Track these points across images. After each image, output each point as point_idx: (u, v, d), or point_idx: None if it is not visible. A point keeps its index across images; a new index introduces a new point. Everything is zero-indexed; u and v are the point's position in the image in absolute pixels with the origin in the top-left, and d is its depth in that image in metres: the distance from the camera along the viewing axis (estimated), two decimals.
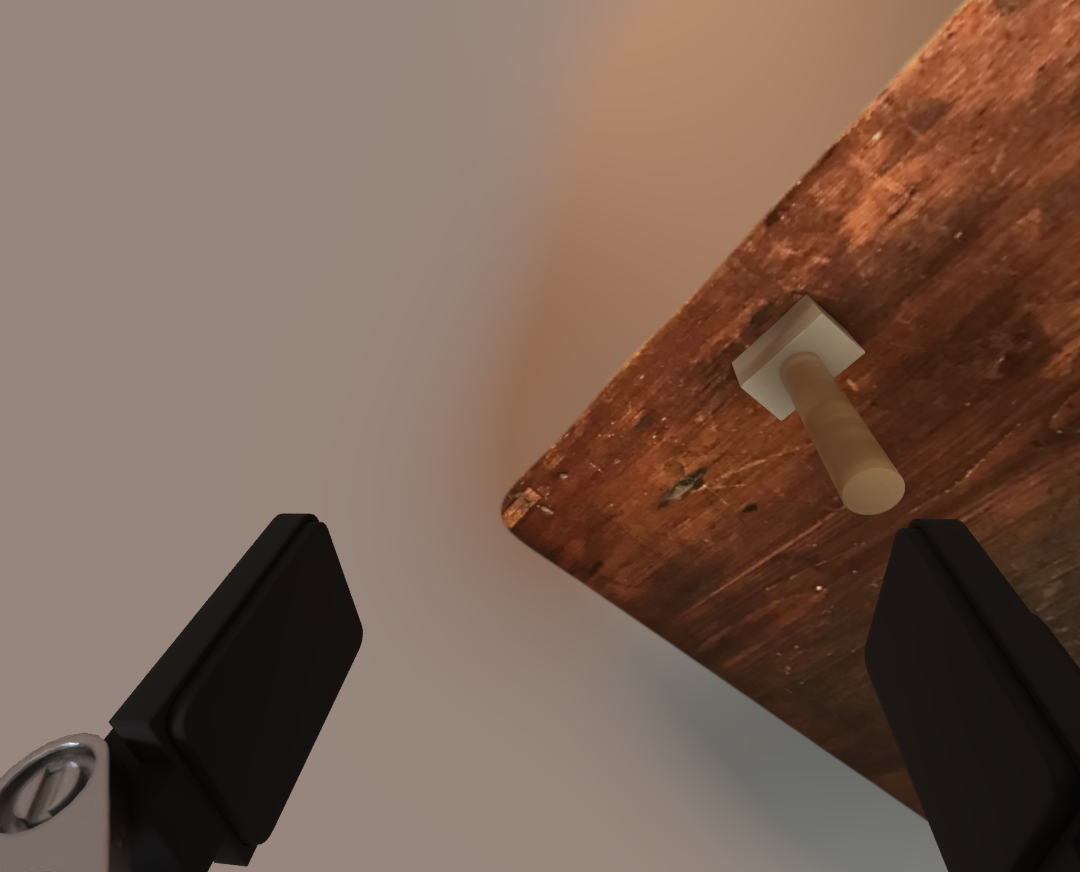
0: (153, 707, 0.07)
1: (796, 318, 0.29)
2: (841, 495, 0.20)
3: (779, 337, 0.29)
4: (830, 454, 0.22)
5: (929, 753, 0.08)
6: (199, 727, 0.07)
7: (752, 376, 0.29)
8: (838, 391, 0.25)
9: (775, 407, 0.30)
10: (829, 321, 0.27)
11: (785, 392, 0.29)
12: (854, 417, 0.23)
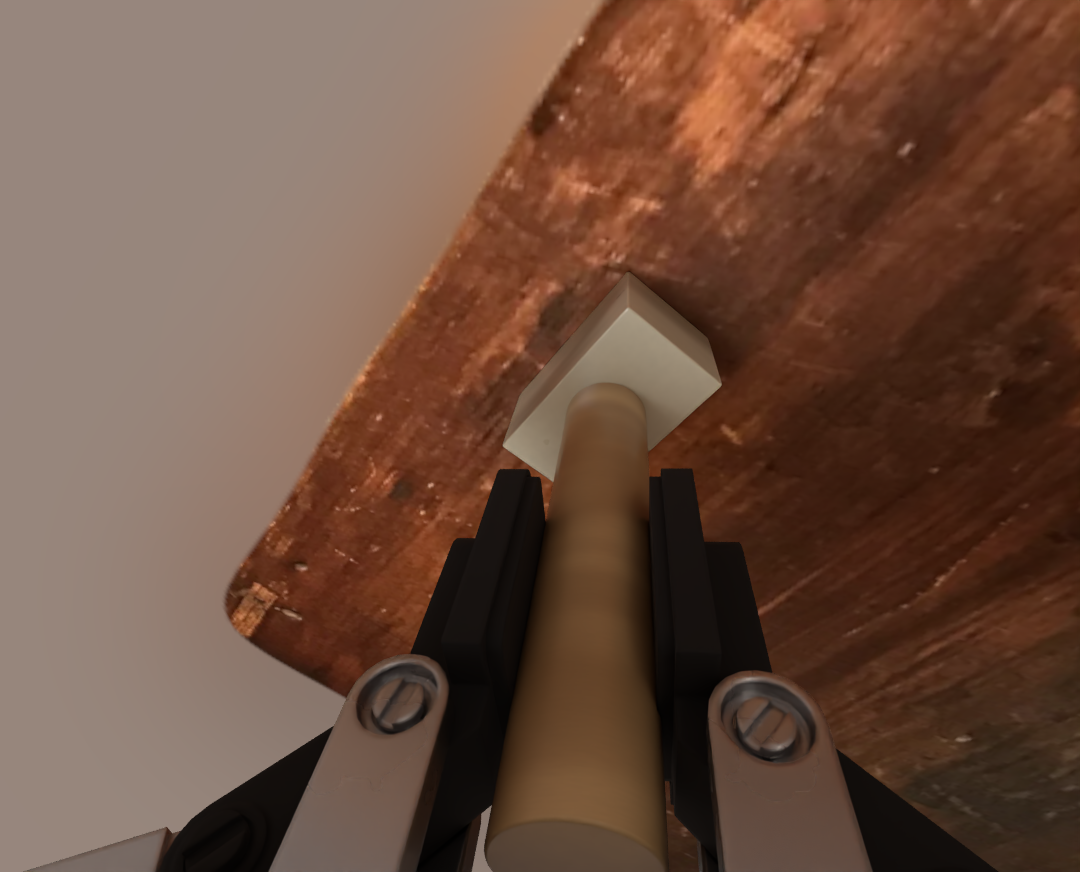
0: (477, 629, 0.07)
1: (600, 317, 0.15)
2: (489, 862, 0.07)
3: (571, 353, 0.15)
4: (514, 691, 0.08)
5: None
6: (506, 651, 0.08)
7: (519, 427, 0.15)
8: (618, 483, 0.11)
9: None
10: (643, 323, 0.13)
11: None
12: (611, 570, 0.09)
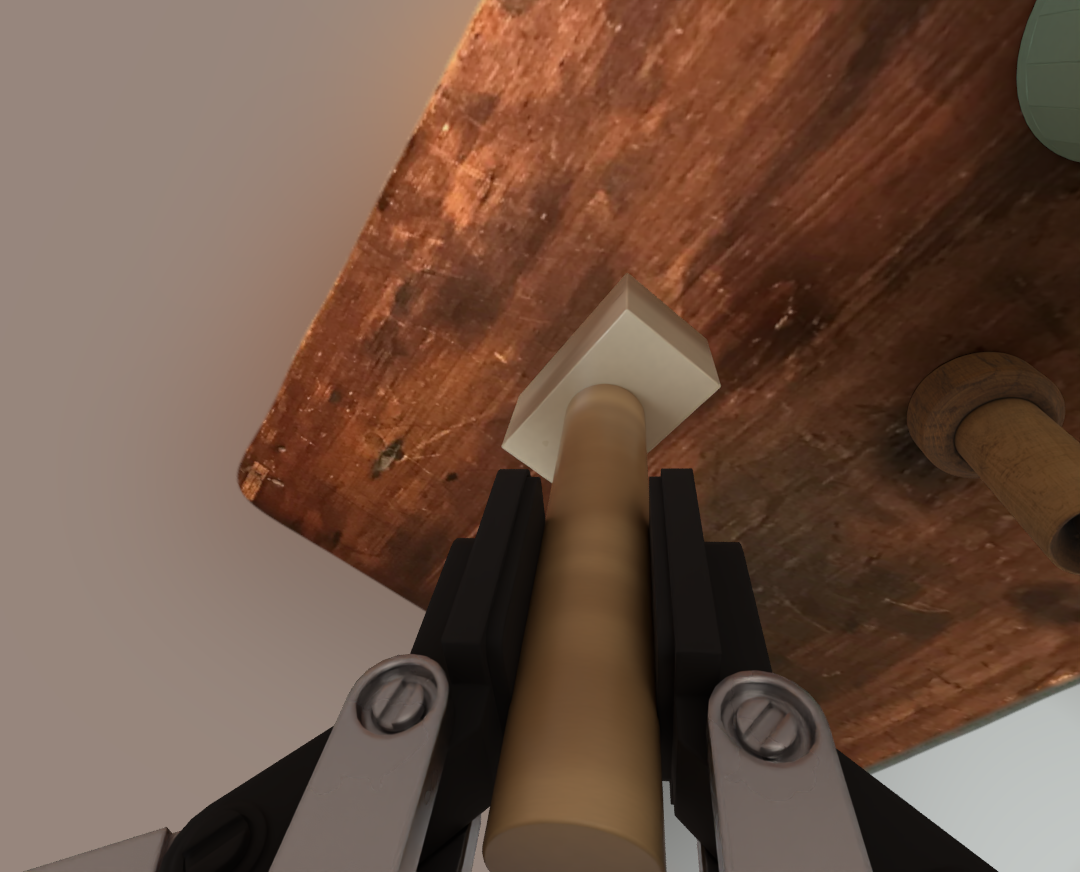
0: (476, 629, 0.07)
1: (599, 318, 0.15)
2: None
3: (570, 355, 0.15)
4: (513, 693, 0.08)
5: None
6: (506, 651, 0.08)
7: (518, 429, 0.15)
8: (616, 485, 0.11)
9: None
10: (642, 324, 0.13)
11: None
12: (609, 571, 0.09)
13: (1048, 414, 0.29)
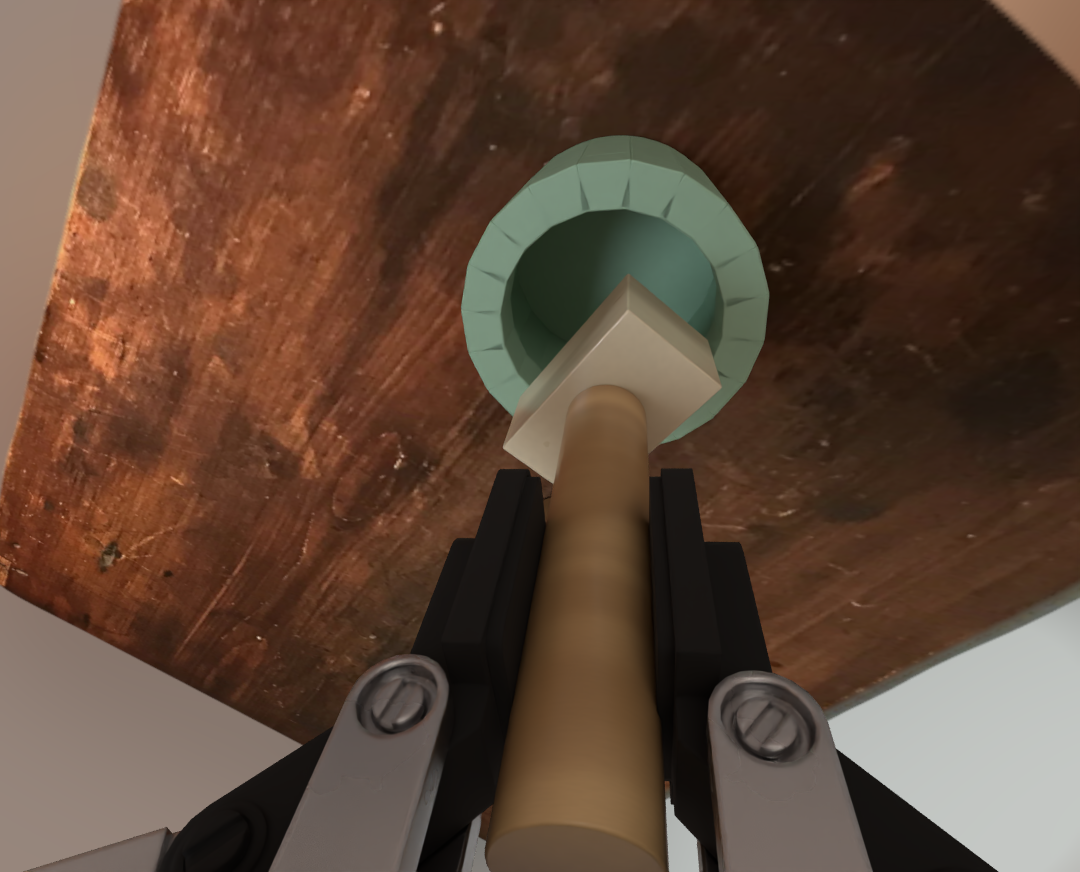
0: (476, 629, 0.07)
1: (600, 319, 0.15)
2: (490, 865, 0.07)
3: (571, 356, 0.15)
4: (515, 694, 0.08)
5: None
6: (506, 651, 0.08)
7: (519, 429, 0.15)
8: (618, 486, 0.11)
9: None
10: (643, 325, 0.13)
11: None
12: (611, 573, 0.09)
13: None
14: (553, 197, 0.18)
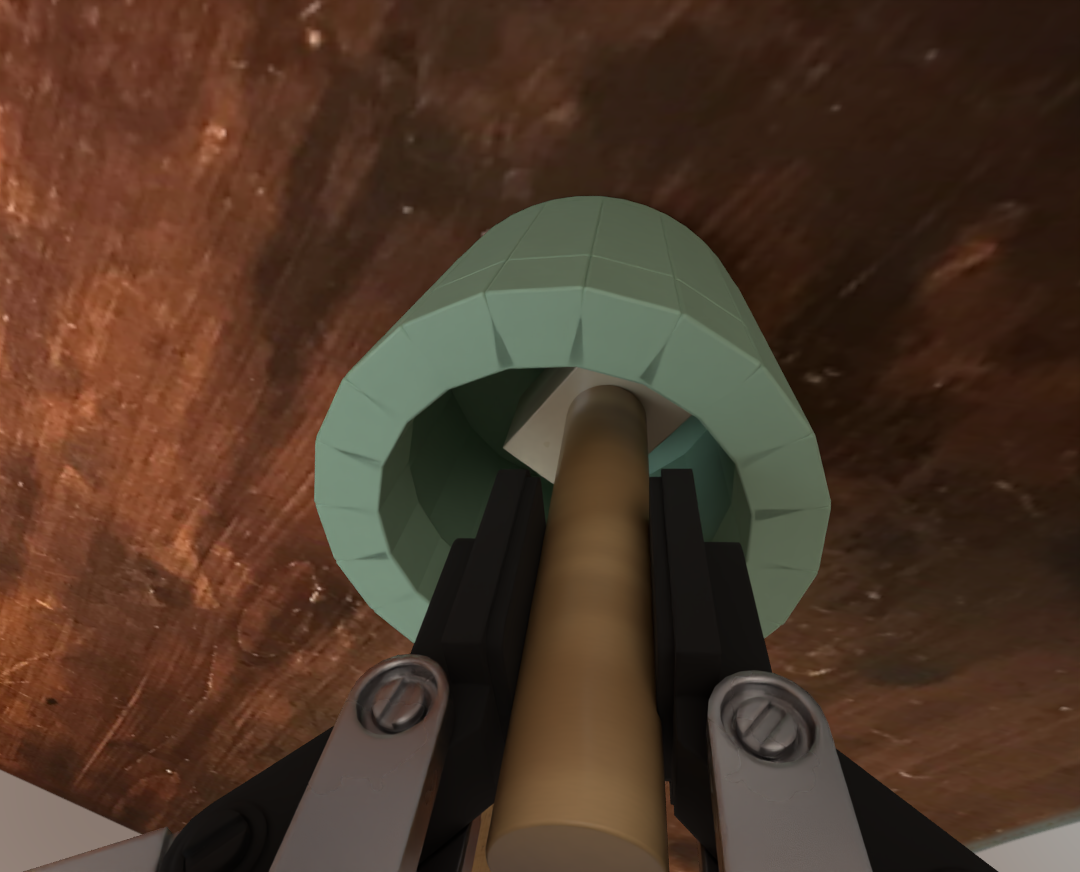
0: (477, 629, 0.07)
1: None
2: (490, 865, 0.07)
3: None
4: (515, 694, 0.08)
5: None
6: (506, 651, 0.08)
7: (519, 429, 0.15)
8: (618, 486, 0.11)
9: None
10: None
11: None
12: (611, 573, 0.09)
13: None
14: (447, 345, 0.10)
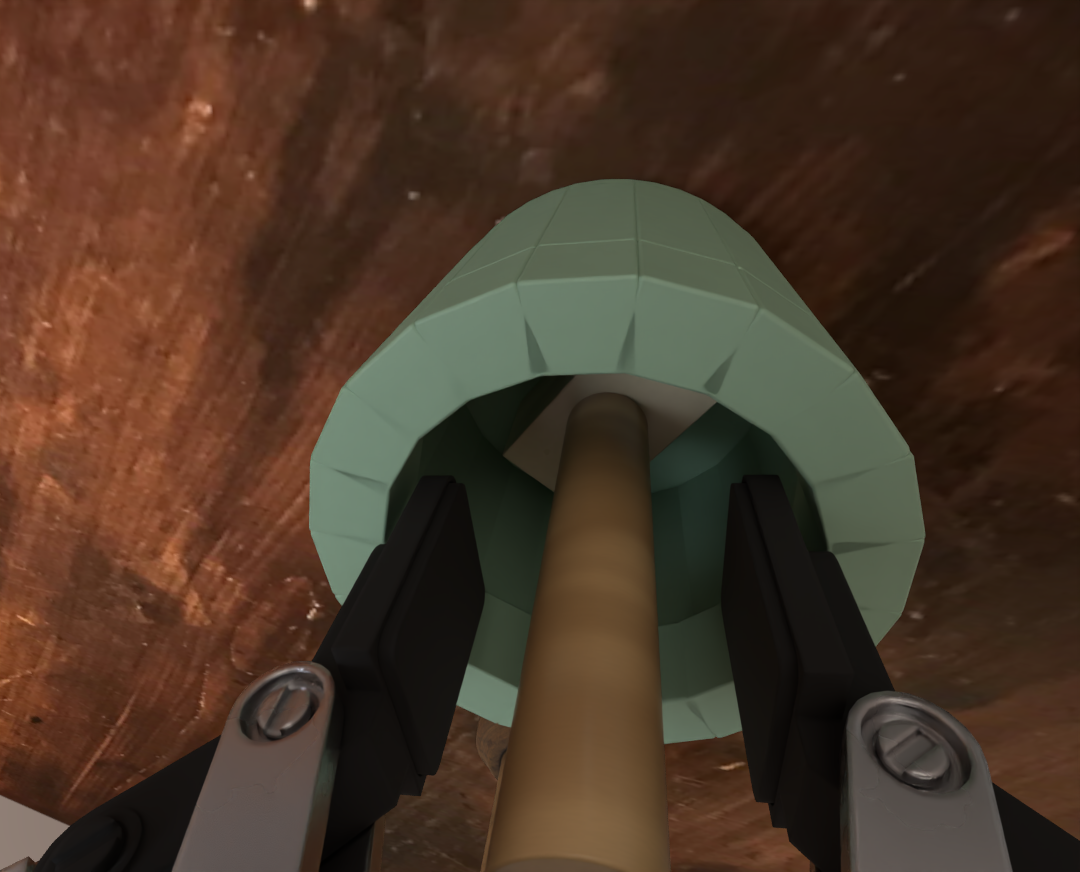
0: (368, 637, 0.07)
1: None
2: None
3: None
4: (513, 716, 0.08)
5: (742, 672, 0.09)
6: (401, 658, 0.08)
7: (519, 437, 0.15)
8: (619, 498, 0.11)
9: None
10: None
11: None
12: (612, 589, 0.09)
13: None
14: (468, 347, 0.08)
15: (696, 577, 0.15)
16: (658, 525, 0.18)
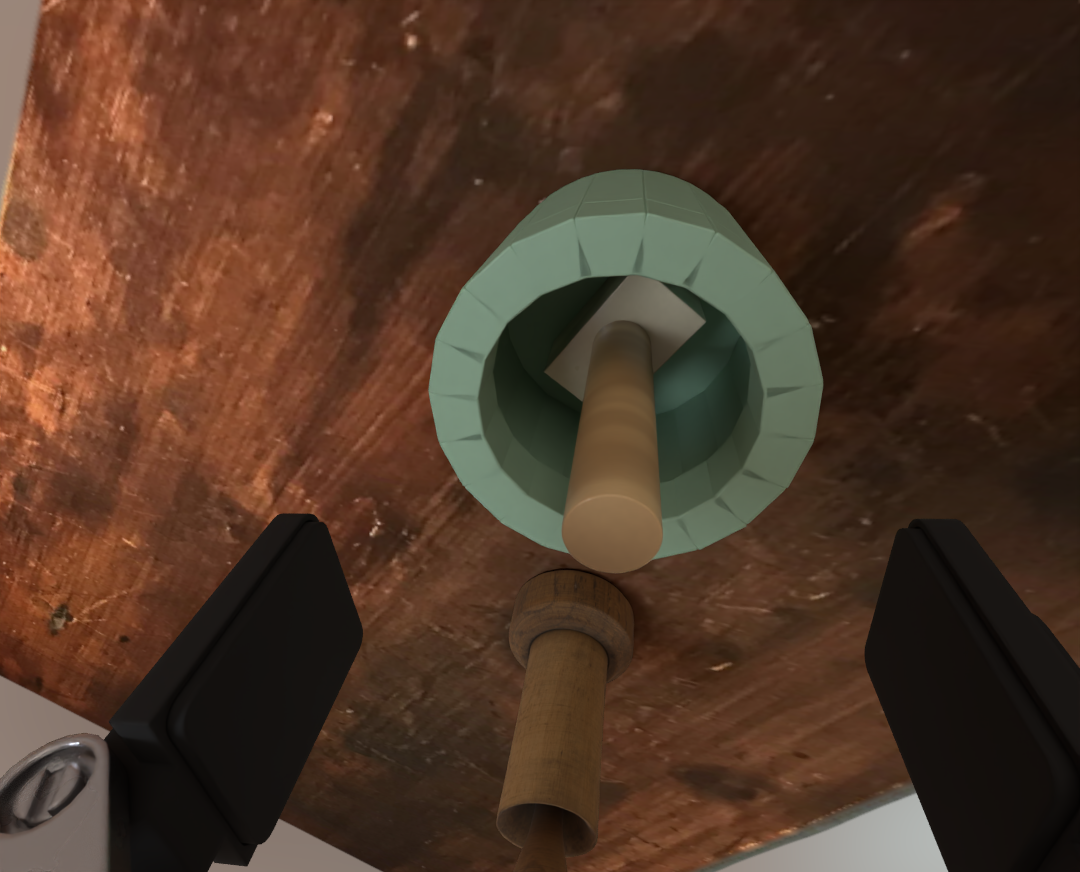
0: (153, 707, 0.07)
1: None
2: (563, 540, 0.12)
3: (595, 303, 0.21)
4: (572, 469, 0.13)
5: (929, 753, 0.08)
6: (199, 727, 0.07)
7: (557, 356, 0.21)
8: (632, 372, 0.16)
9: None
10: None
11: None
12: (629, 410, 0.14)
13: (605, 645, 0.29)
14: (543, 259, 0.14)
15: (686, 460, 0.21)
16: (659, 434, 0.23)
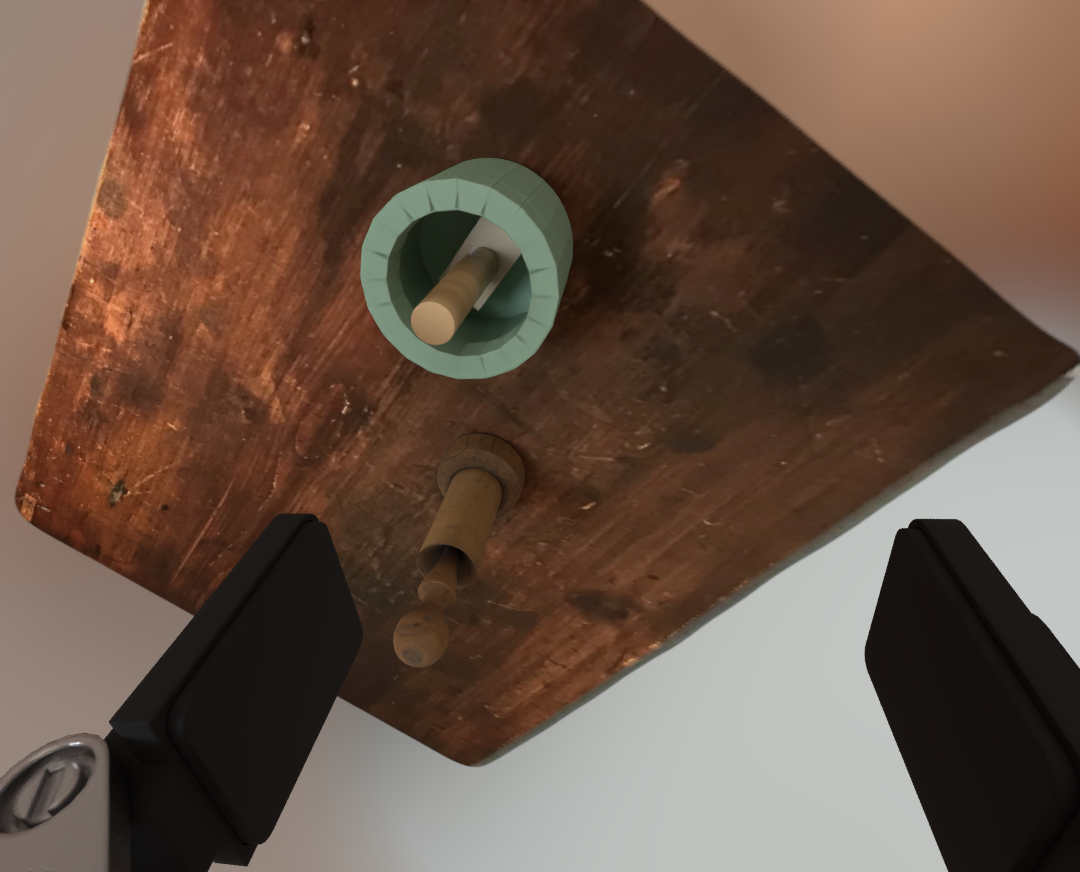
0: (153, 707, 0.07)
1: None
2: None
3: None
4: None
5: (929, 753, 0.08)
6: (199, 727, 0.07)
7: (445, 270, 0.35)
8: (469, 266, 0.30)
9: None
10: None
11: None
12: (456, 278, 0.28)
13: (499, 478, 0.43)
14: (411, 202, 0.28)
15: None
16: (515, 323, 0.37)
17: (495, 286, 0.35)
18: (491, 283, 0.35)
